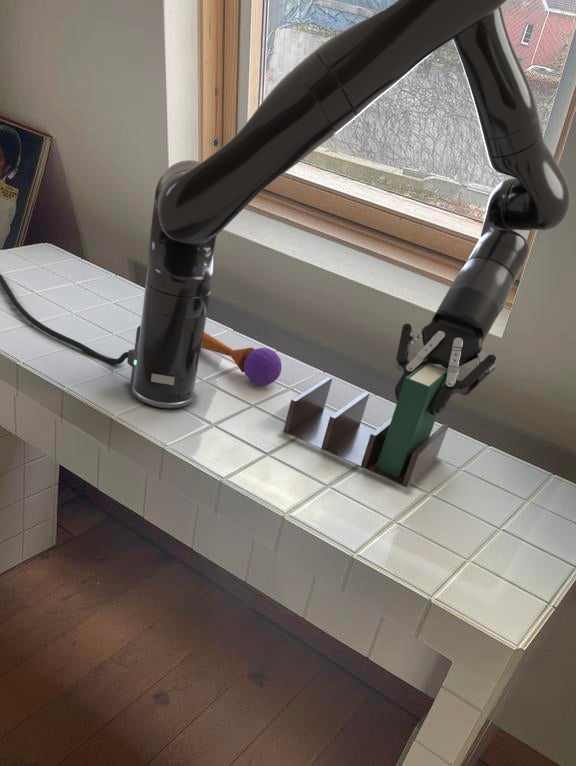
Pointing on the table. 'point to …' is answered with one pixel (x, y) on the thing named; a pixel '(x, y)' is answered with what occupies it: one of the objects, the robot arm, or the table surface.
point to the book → (411, 418)
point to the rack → (352, 432)
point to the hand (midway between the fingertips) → (415, 405)
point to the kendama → (249, 360)
